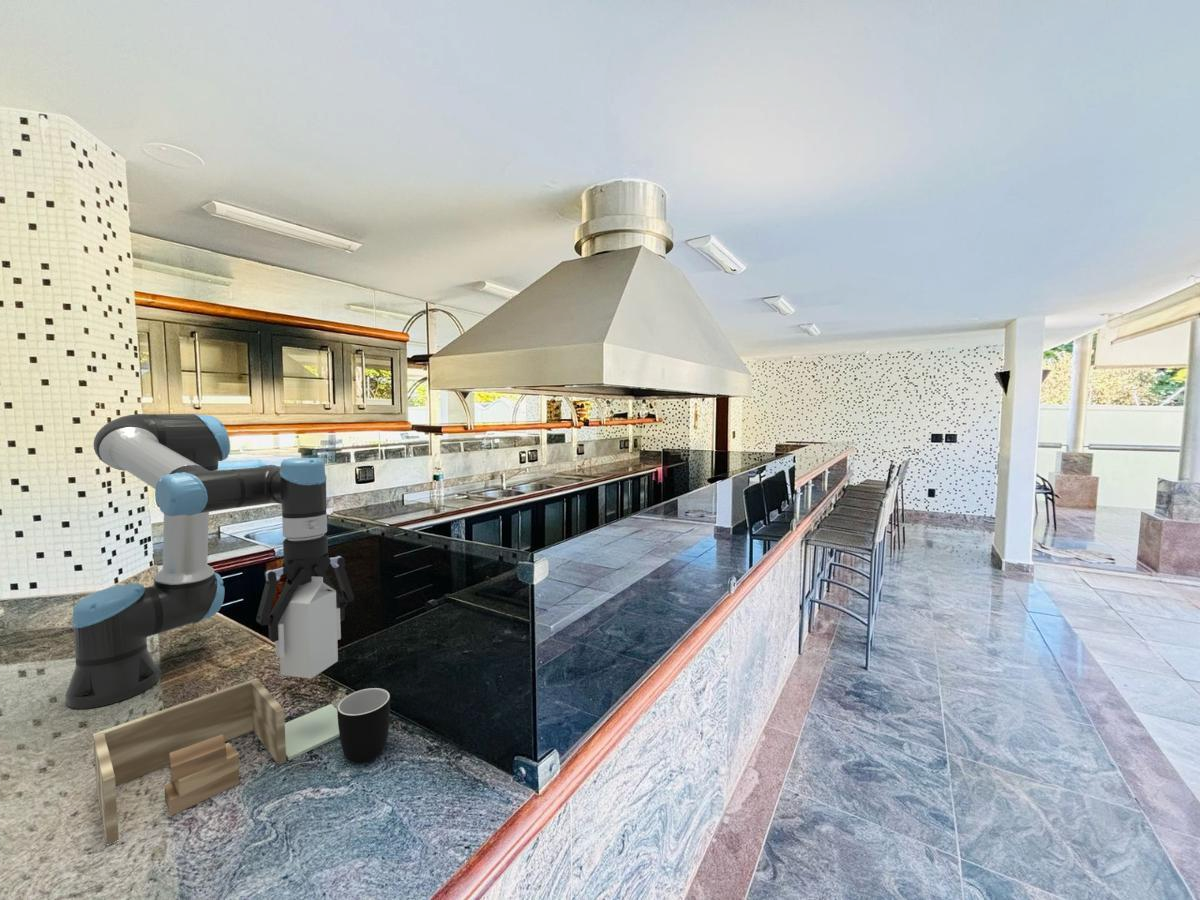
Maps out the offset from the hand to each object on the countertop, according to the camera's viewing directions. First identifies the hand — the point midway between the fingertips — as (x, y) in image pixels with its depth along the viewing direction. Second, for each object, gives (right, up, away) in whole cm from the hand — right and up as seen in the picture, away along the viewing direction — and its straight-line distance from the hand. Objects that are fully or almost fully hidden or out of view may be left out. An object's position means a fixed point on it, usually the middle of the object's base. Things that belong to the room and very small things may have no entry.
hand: (309, 646), depth 97 cm
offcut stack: (-9, -19, -15) cm, 25 cm away
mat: (0, -18, +1) cm, 18 cm away
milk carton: (0, -5, 0) cm, 5 cm away
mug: (+12, -18, -4) cm, 22 cm away
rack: (-14, -18, -11) cm, 25 cm away
